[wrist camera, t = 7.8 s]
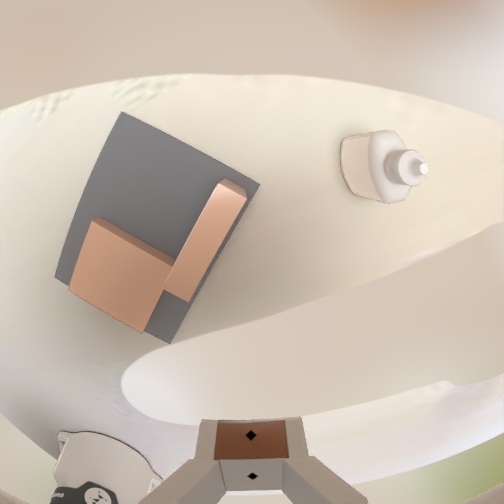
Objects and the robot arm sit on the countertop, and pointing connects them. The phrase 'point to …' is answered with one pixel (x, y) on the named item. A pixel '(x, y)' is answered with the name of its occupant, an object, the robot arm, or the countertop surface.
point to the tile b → (205, 239)
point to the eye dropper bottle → (381, 166)
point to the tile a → (120, 274)
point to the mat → (150, 203)
